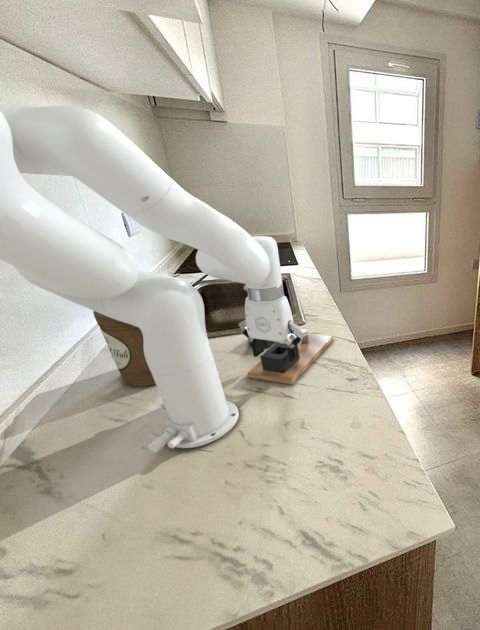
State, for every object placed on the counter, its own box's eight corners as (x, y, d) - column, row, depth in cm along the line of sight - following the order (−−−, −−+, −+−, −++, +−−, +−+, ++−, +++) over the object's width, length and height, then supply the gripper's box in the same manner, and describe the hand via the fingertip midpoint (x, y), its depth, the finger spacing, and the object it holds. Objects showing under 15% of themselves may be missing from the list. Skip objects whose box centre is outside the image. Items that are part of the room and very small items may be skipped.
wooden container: (124, 365, 86) (89, 285, 76) (191, 347, 94) (167, 273, 84) (121, 395, 75) (80, 306, 65) (198, 372, 83) (171, 291, 74)
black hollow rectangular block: (284, 373, 81) (282, 359, 79) (263, 369, 82) (260, 356, 80) (299, 358, 87) (297, 345, 86) (279, 355, 88) (277, 342, 87)
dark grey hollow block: (267, 348, 94) (265, 335, 93) (249, 345, 95) (246, 333, 94) (282, 336, 101) (279, 324, 99) (264, 334, 102) (262, 322, 100)
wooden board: (292, 384, 80) (289, 370, 78) (248, 377, 82) (245, 364, 80) (332, 340, 99) (331, 328, 97) (296, 335, 101) (294, 324, 99)
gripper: (220, 293, 74) (235, 359, 80) (290, 301, 71) (299, 369, 77) (243, 283, 80) (255, 345, 87) (308, 290, 77) (315, 354, 84)
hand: (276, 356), depth 82 cm, fingers open, 9 cm apart
